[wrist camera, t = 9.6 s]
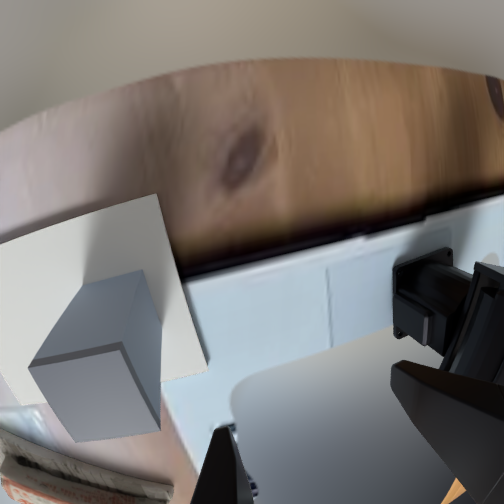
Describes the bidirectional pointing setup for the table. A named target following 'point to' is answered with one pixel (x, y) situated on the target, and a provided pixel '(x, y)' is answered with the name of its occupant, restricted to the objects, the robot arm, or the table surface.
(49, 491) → the packaged product
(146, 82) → the table surface
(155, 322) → the block
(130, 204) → the mat
